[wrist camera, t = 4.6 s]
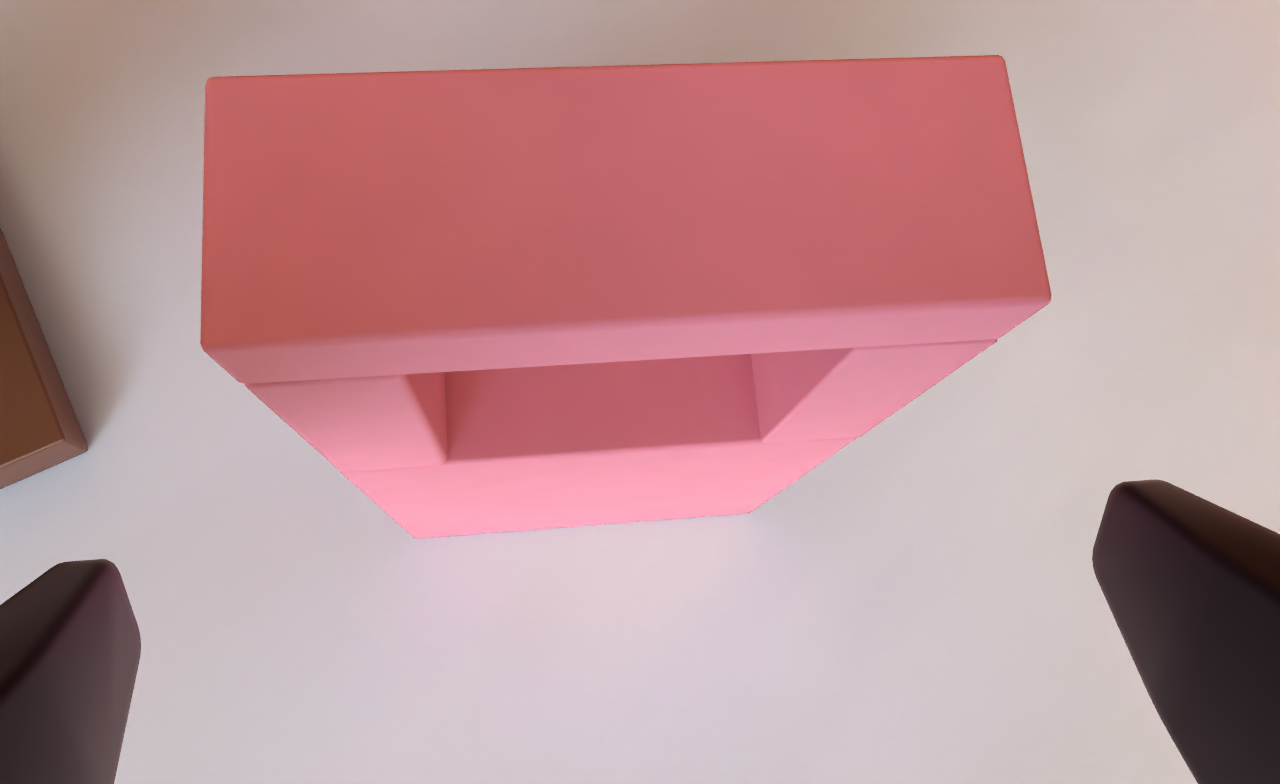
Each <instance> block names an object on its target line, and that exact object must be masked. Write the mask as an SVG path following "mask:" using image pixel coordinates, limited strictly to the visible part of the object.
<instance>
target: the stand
mask: <svg viewBox="0 0 1280 784" xmlns="http://www.w3.org/2000/svg"><path fill="white" fill-rule="evenodd" d="M87 450H88V447H87V444H86V442H85V439H84V437H83V434H82V432H81V429H80V427H79V424H78V422H77V419H76V417H75V414H74V412H73V409H72V407H71V404H70V402H69V399H68V397H67V394H66V392H65V389H64V387H63V384H62V382H61V379H60V377H59V374H58V372H57V369H56V367H55V364H54V362H53V359H52V357H51V354H50V352H49V349H48V347H47V344H46V342H45V339H44V337H43V334H42V332H41V329H40V326H39V324H38V321H37V319H36V316H35V314H34V311H33V309H32V306H31V304H30V301H29V299H28V296H27V294H26V291H25V289H24V286H23V284H22V281H21V279H20V276H19V274H18V271H17V269H16V266H15V264H14V261H13V259H12V256H11V254H10V251H9V249H8V246H7V244H6V241H5V239H4V236H3V234H2V231H1V229H0V489H1V488H4V487H6V486H8V485H11V484H13V483H15V482H18V481H20V480H22V479H24V478H27V477H29V476H31V475H34V474H36V473H38V472H41V471H43V470H45V469H47V468H50V467H52V466H54V465H57V464H59V463H61V462H64V461H66V460H68V459H70V458H73V457H75V456H77V455H80V454H82V453H84V452H86V451H87Z"/></svg>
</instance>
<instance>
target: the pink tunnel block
mask: <svg viewBox="0 0 1280 784" xmlns="http://www.w3.org/2000/svg"><path fill="white" fill-rule="evenodd" d="M1050 300H1051V291H1050V286H1049V280H1048V275H1047V270H1046V265H1045V260H1044V255H1043V250H1042V245H1041V240H1040V235H1039V230H1038V225H1037V220H1036V215H1035V210H1034V205H1033V200H1032V195H1031V190H1030V185H1029V180H1028V174H1027V169H1026V164H1025V159H1024V154H1023V149H1022V144H1021V139H1020V134H1019V129H1018V124H1017V119H1016V114H1015V109H1014V104H1013V99H1012V94H1011V89H1010V84H1009V79H1008V73H1007V68H1006V63H1005V60H1004V58H1003V57H1002V56H999V55H988V56H951V57H915V58H879V59H843V60H807V61H771V62H735V63H699V64H663V65H627V66H591V67H555V68H519V69H483V70H447V71H411V72H374V73H338V74H302V75H266V76H230V77H212V78H209V79H208V80H207V83H206V87H205V136H204V188H203V240H202V292H201V346H202V348H203V350H204V351H205V352H206V353H207V354H208V355H209V356H210V357H211V358H213V359H214V360H215V361H216V362H217V363H218V364H219V365H220V366H222V367H223V368H224V369H225V370H226V371H227V372H228V373H229V374H230V375H232V376H233V377H234V378H235V379H236V380H237V381H238V382H241V383H244V384H245V386H246V387H247V388H248V389H249V390H250V391H251V392H252V393H254V394H255V395H256V396H257V397H258V398H259V399H260V400H261V401H262V402H264V403H265V404H266V405H267V406H268V407H269V408H270V409H271V410H272V411H274V412H275V413H276V414H277V415H278V416H279V417H280V418H281V419H283V420H284V421H285V422H286V423H287V424H288V425H289V426H290V427H291V428H293V429H294V430H295V431H296V432H297V433H298V434H299V435H300V436H301V437H303V438H304V439H305V440H306V441H307V442H308V443H309V444H310V445H312V446H313V447H314V448H315V449H316V450H317V451H318V452H319V453H320V454H322V455H323V456H324V457H325V458H326V459H327V460H328V461H329V462H330V463H332V464H333V465H334V466H335V467H336V468H337V469H338V470H340V472H341V473H342V474H343V475H344V476H345V477H346V478H347V479H349V480H350V481H351V482H352V483H353V484H354V485H355V486H356V487H357V488H359V489H360V490H361V491H362V492H363V493H364V494H365V495H366V496H368V497H369V498H370V499H371V500H372V501H373V502H374V503H375V504H377V505H378V506H379V507H380V508H381V509H382V510H383V511H384V512H385V513H387V514H388V515H389V516H390V517H391V518H392V519H393V520H394V521H396V522H397V523H398V524H399V525H400V526H401V527H402V528H403V529H405V530H406V531H407V532H408V533H409V534H410V535H411V536H412V537H413V538H416V539H419V538H432V537H445V536H458V535H471V534H484V533H497V532H510V531H523V530H536V529H549V528H562V527H575V526H588V525H601V524H613V523H626V522H639V521H652V520H665V519H678V518H691V517H704V516H717V515H730V514H743V513H750V512H752V511H753V510H755V509H756V508H758V507H759V506H760V505H762V504H763V503H765V502H766V501H768V500H769V499H770V498H772V497H773V496H775V495H776V494H778V493H779V492H780V491H782V490H783V489H785V488H786V487H788V486H789V485H790V484H792V483H793V482H795V481H796V480H798V479H799V478H800V477H802V476H803V475H805V474H806V473H807V472H809V471H810V470H812V469H813V468H815V467H816V466H817V465H819V464H820V463H822V462H823V461H825V460H826V459H827V458H829V457H830V456H832V455H833V454H835V453H836V452H837V451H839V450H840V449H842V448H843V447H845V446H846V445H847V444H849V443H850V442H852V441H853V440H855V439H856V438H857V437H860V436H862V435H863V434H865V433H866V432H868V431H869V430H871V429H872V428H873V427H875V426H876V425H878V424H879V423H881V422H882V421H883V420H885V419H886V418H888V417H889V416H891V415H892V414H893V413H895V412H896V411H898V410H899V409H901V408H902V407H903V406H905V405H906V404H908V403H909V402H911V401H912V400H913V399H915V398H916V397H918V396H919V395H921V394H922V393H924V392H925V391H926V390H928V389H929V388H931V387H932V386H934V385H935V384H936V383H938V382H939V381H941V380H942V379H944V378H945V377H946V376H948V375H949V374H951V373H952V372H954V371H955V370H956V369H958V368H959V367H961V366H962V365H964V364H965V363H966V362H968V361H969V360H971V359H972V358H974V357H975V356H977V355H978V354H979V353H981V352H982V351H984V350H985V349H987V348H988V347H989V346H991V345H992V344H994V343H995V342H997V339H998V338H1000V337H1002V336H1003V335H1005V334H1006V333H1007V332H1009V331H1010V330H1012V329H1013V328H1015V327H1016V326H1017V325H1019V324H1020V323H1022V322H1023V321H1025V320H1026V319H1027V318H1029V317H1030V316H1032V315H1033V314H1035V313H1036V312H1037V311H1039V310H1040V309H1042V308H1043V307H1045V306H1046V305H1047V304H1049V303H1050Z"/></svg>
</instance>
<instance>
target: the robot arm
mask: <svg viewBox="0 0 1280 784" xmlns="http://www.w3.org/2000/svg"><path fill="white" fill-rule="evenodd" d="M1092 560H1093V568H1094V572H1095V575H1096V578H1097V580H1098V582H1099V585H1100V587H1101V589H1102V591H1103V593H1104V596H1105V598H1106V600H1107V602H1108V605H1109V607H1110V609H1111V611H1112V614H1113V616H1114V618H1115V620H1116V622H1117V625H1118V627H1119V629H1120V631H1121V634H1122V636H1123V638H1124V640H1125V643H1126V645H1127V647H1128V649H1129V651H1130V654H1131V656H1132V658H1133V660H1134V663H1135V665H1136V667H1137V669H1138V671H1139V674H1140V676H1141V678H1142V680H1143V683H1144V685H1145V687H1146V689H1147V692H1148V694H1149V696H1150V698H1151V700H1152V702H1153V704H1154V706H1155V708H1156V710H1157V712H1158V714H1159V716H1160V718H1161V720H1162V721H1163V723H1164V725H1165V727H1166V729H1167V731H1168V732H1169V734H1170V736H1171V738H1172V740H1173V741H1174V743H1175V745H1176V747H1177V748H1178V750H1179V752H1180V754H1181V755H1182V757H1183V759H1184V760H1185V762H1186V764H1187V766H1188V767H1189V769H1190V771H1191V772H1192V774H1193V776H1194V778H1195V779H1196V781H1197V783H1198V784H1280V534H1278V533H1276V532H1274V531H1272V530H1269V529H1267V528H1265V527H1263V526H1261V525H1259V524H1256V523H1254V522H1252V521H1250V520H1248V519H1246V518H1244V517H1241V516H1239V515H1237V514H1235V513H1233V512H1231V511H1228V510H1226V509H1224V508H1222V507H1220V506H1218V505H1215V504H1213V503H1211V502H1209V501H1207V500H1205V499H1202V498H1200V497H1198V496H1196V495H1194V494H1192V493H1189V492H1187V491H1185V490H1183V489H1181V488H1179V487H1176V486H1174V485H1172V484H1170V483H1168V482H1165V481H1162V480H1142V481H1129V482H1122V483H1120V484H1118V485H1116V486H1115V487H1114V488H1113V490H1112V491H1111V492H1110V495H1109V497H1108V501H1107V504H1106V507H1105V511H1104V514H1103V517H1102V521H1101V524H1100V527H1099V531H1098V534H1097V538H1096V541H1095V544H1094V548H1093V557H1092ZM140 651H141V639H140V632H139V628H138V625H137V622H136V619H135V616H134V613H133V610H132V607H131V604H130V602H129V599H128V596H127V593H126V590H125V587H124V584H123V581H122V578H121V575H120V573H119V571H118V569H117V567H116V566H115V565H114V563H112V562H110V561H108V560H106V559H98V560H84V561H71V562H63V563H60V564H57V565H55V566H54V567H52V568H51V569H49V570H48V571H46V572H45V573H44V574H42V575H41V576H40V577H38V578H37V579H35V580H34V581H33V582H31V583H30V584H29V585H27V586H26V587H25V588H23V589H22V590H20V591H19V592H18V593H16V594H15V595H14V596H12V597H11V598H9V599H8V600H7V601H5V602H4V603H3V604H1V605H0V784H114V781H115V776H116V771H117V766H118V761H119V756H120V752H121V747H122V742H123V737H124V732H125V727H126V723H127V718H128V713H129V708H130V703H131V698H132V694H133V689H134V684H135V679H136V674H137V669H138V664H139V659H140Z"/></svg>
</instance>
